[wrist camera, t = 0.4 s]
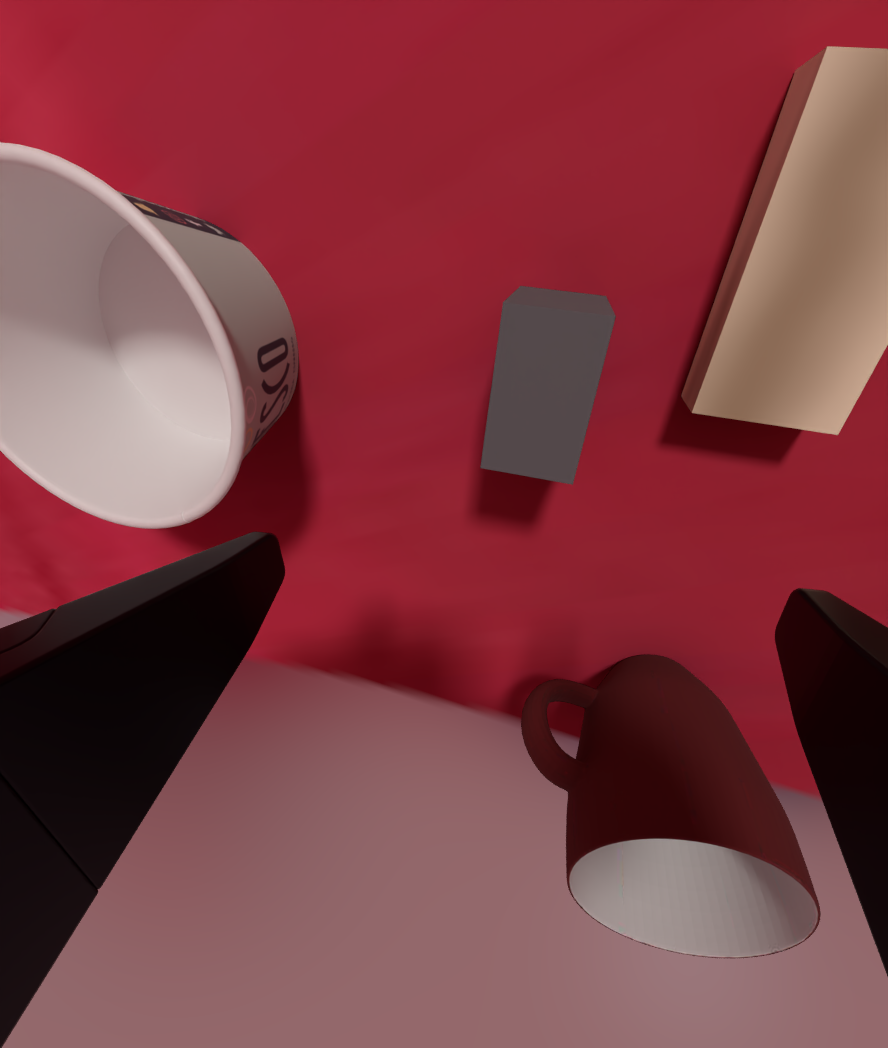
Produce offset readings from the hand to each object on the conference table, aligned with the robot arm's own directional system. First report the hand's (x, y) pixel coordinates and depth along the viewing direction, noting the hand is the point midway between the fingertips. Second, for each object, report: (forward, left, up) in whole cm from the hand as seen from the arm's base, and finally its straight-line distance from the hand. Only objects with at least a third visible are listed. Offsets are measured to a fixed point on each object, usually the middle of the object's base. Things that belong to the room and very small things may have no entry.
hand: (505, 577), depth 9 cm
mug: (-7, +14, -13) cm, 20 cm away
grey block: (0, -1, -12) cm, 12 cm away
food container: (+15, 0, -13) cm, 20 cm away
